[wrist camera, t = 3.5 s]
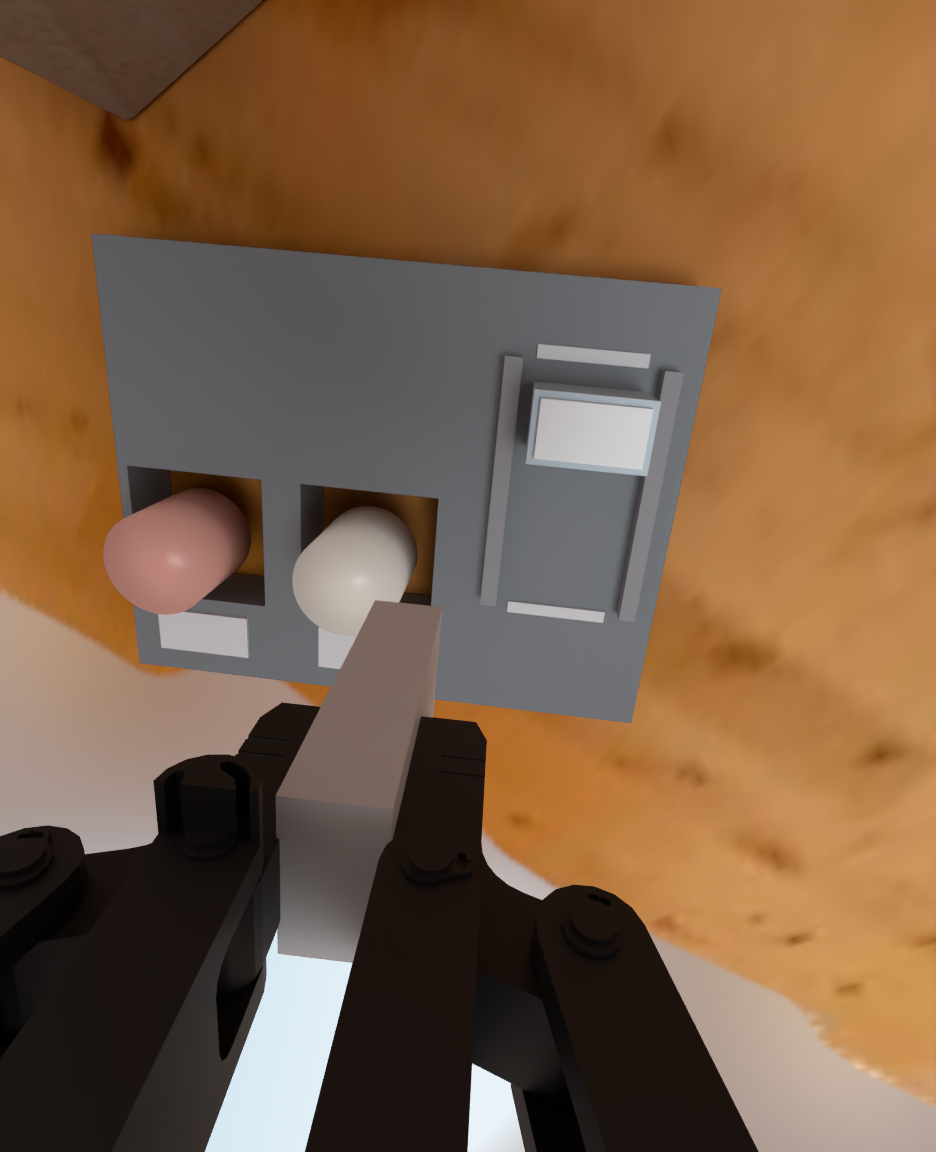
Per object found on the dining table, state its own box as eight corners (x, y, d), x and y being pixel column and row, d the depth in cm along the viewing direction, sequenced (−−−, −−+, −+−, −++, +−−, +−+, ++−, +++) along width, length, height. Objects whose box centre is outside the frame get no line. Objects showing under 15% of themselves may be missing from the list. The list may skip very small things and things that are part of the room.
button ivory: (324, 501, 34) (291, 529, 29) (419, 511, 33) (402, 541, 29) (324, 590, 35) (292, 630, 31) (414, 600, 35) (397, 642, 31)
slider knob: (533, 381, 30) (534, 389, 26) (644, 391, 29) (662, 402, 25) (526, 447, 31) (525, 465, 27) (632, 458, 30) (648, 478, 26)
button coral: (156, 483, 34) (96, 508, 29) (249, 493, 34) (204, 519, 29) (164, 571, 36) (109, 608, 31) (252, 582, 36) (210, 620, 31)
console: (140, 243, 33) (77, 230, 28) (699, 292, 31) (728, 286, 27) (175, 632, 41) (129, 671, 36) (621, 685, 40) (633, 733, 35)
